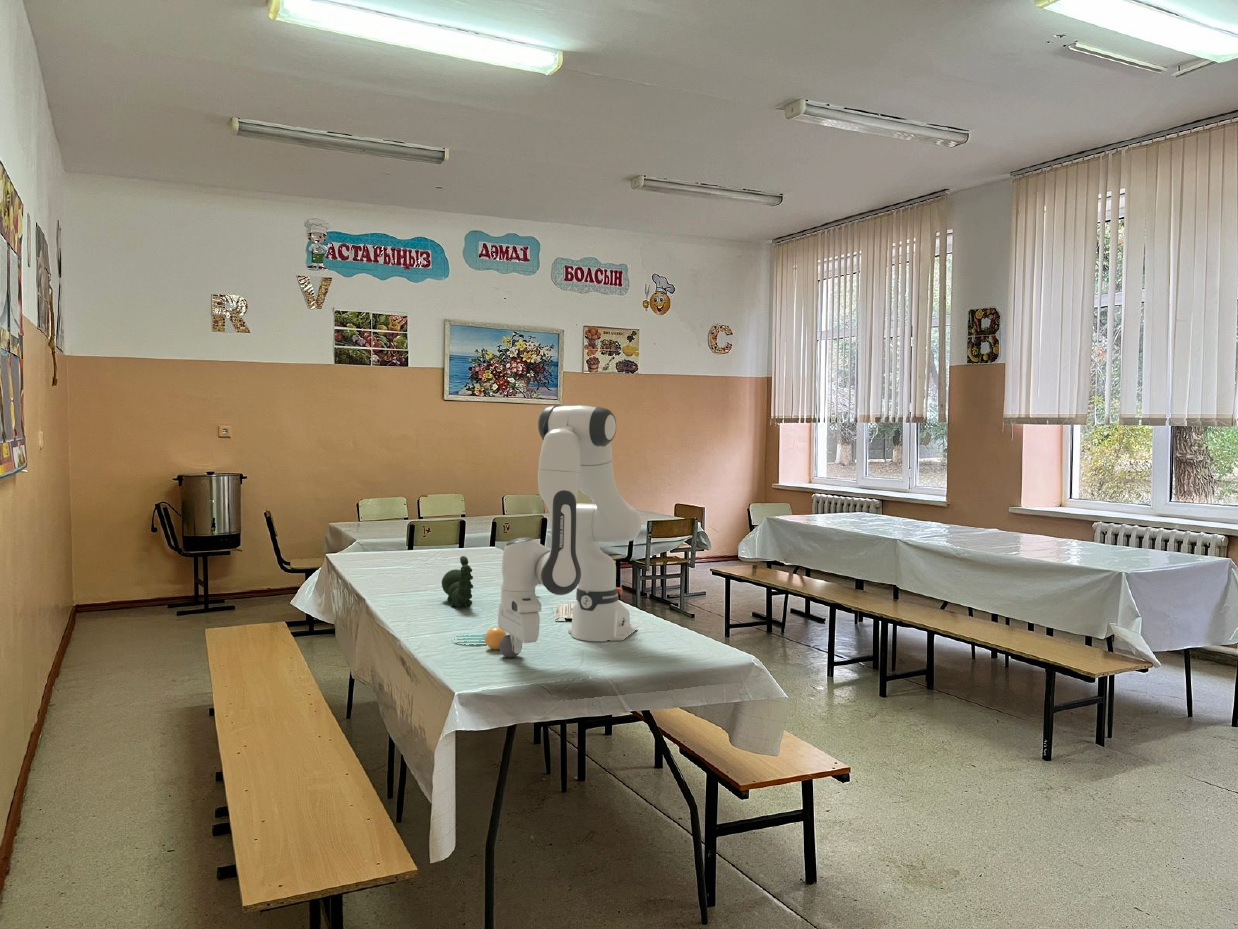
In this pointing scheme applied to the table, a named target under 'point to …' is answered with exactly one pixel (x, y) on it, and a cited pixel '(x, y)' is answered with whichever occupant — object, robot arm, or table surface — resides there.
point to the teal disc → (473, 639)
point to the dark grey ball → (507, 647)
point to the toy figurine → (459, 584)
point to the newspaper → (564, 611)
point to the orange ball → (494, 637)
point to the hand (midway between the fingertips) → (516, 652)
